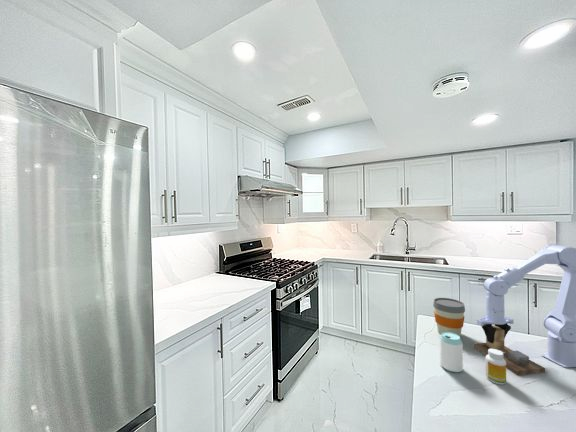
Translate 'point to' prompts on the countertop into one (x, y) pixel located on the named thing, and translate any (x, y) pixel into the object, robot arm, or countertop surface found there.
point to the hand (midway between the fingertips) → (495, 341)
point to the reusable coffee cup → (449, 315)
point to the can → (451, 352)
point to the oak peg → (497, 339)
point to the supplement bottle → (495, 366)
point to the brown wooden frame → (510, 365)
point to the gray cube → (518, 358)
